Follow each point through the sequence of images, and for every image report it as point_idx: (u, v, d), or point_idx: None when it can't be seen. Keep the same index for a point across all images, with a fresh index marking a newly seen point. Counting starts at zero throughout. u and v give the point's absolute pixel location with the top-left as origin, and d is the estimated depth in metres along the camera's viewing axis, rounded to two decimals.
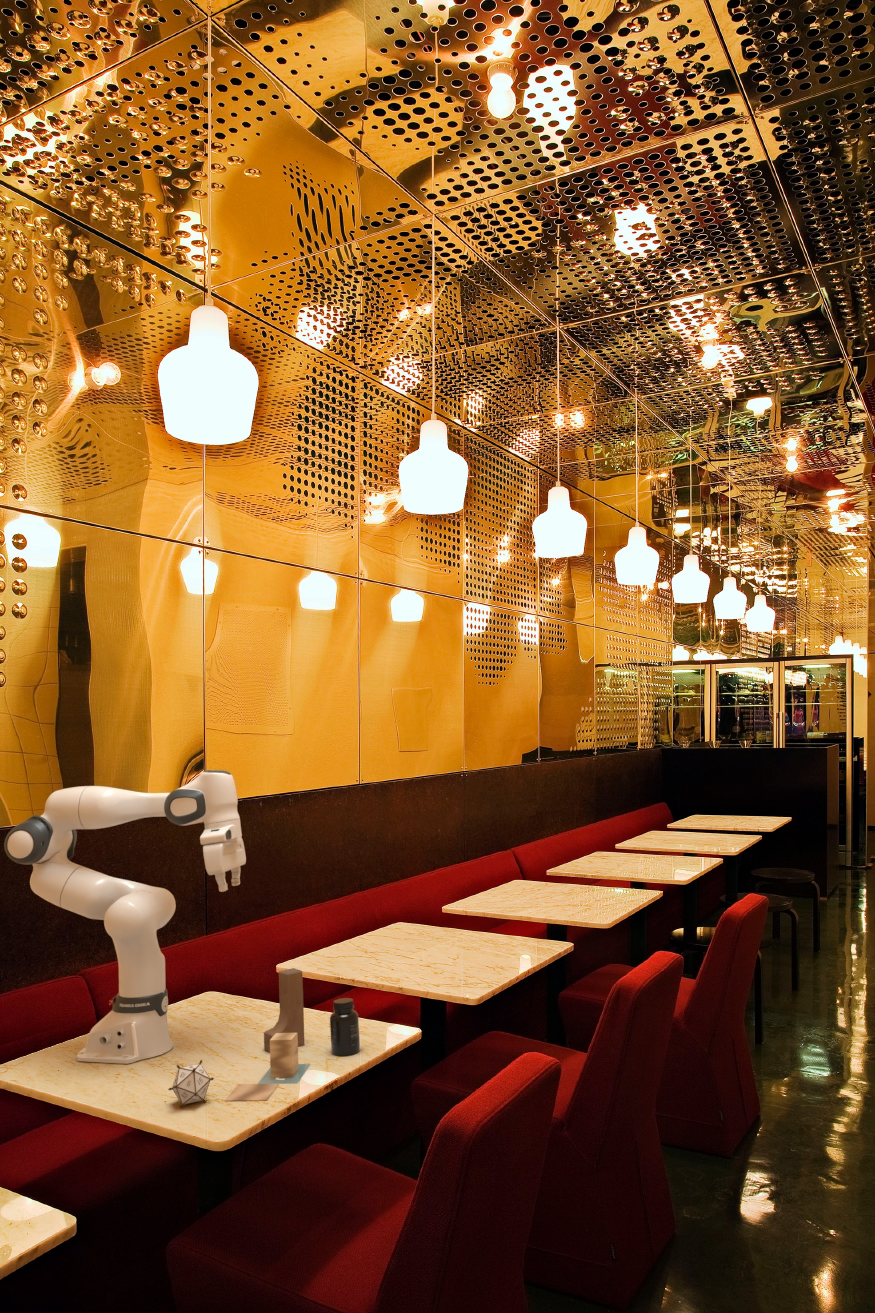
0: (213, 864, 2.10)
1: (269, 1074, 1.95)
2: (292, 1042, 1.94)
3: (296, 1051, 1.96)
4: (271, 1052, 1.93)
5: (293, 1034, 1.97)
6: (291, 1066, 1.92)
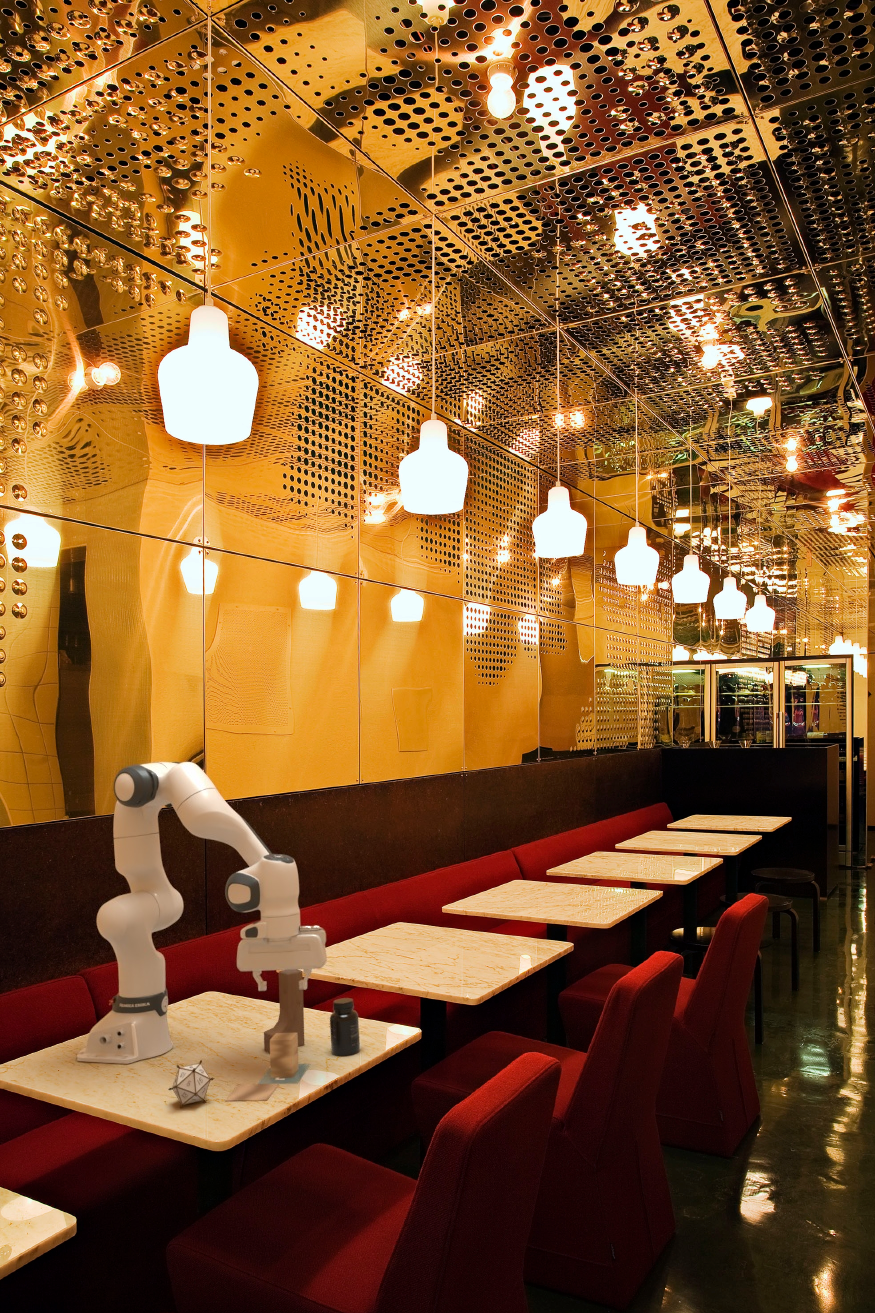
0: None
1: (269, 1074, 1.95)
2: (292, 1042, 1.94)
3: (296, 1051, 1.96)
4: (271, 1052, 1.93)
5: (293, 1034, 1.97)
6: (291, 1066, 1.92)
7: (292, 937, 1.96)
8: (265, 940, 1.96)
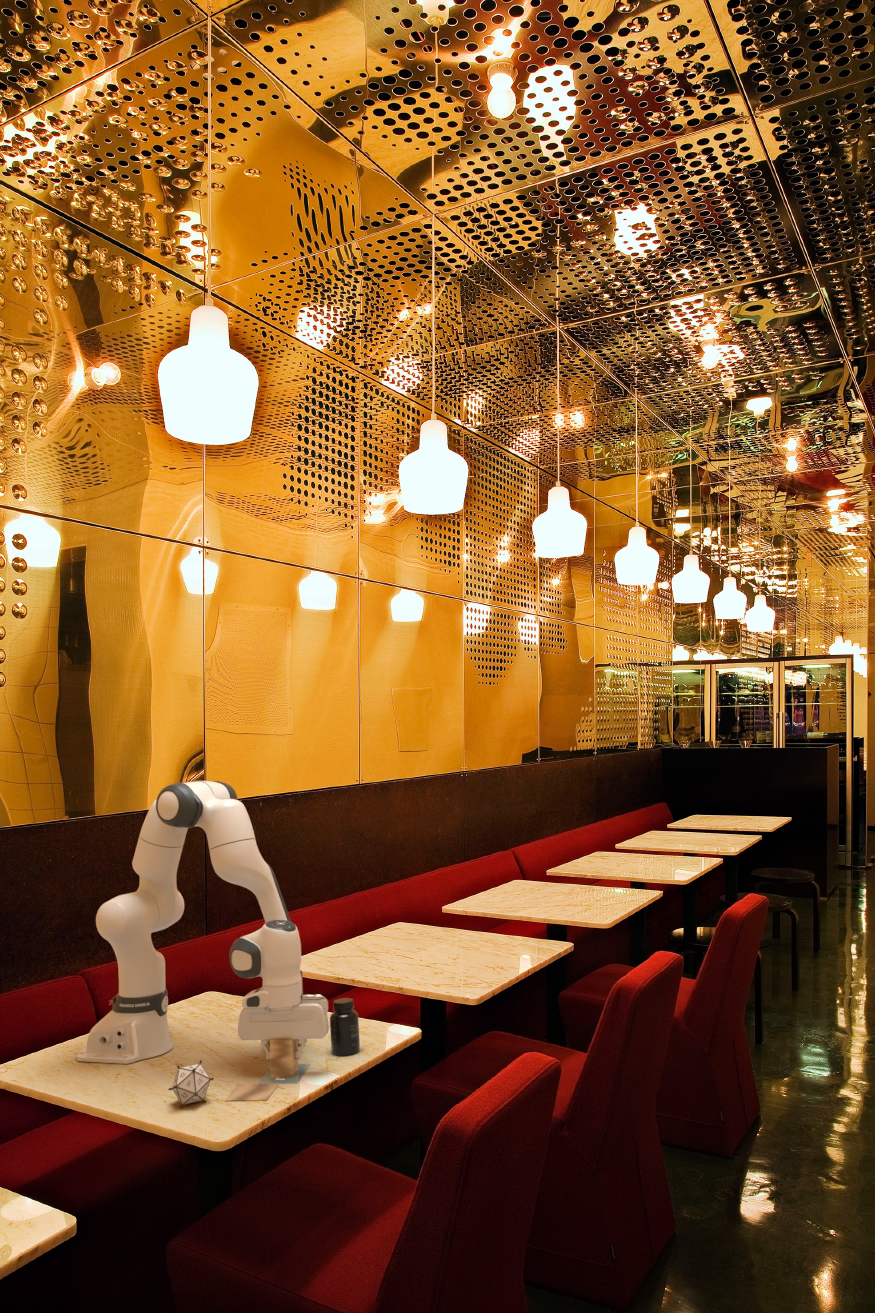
0: None
1: (269, 1074, 1.95)
2: (292, 1042, 1.94)
3: None
4: (271, 1052, 1.93)
5: None
6: (291, 1066, 1.92)
7: (294, 1006, 1.95)
8: (267, 1009, 1.95)
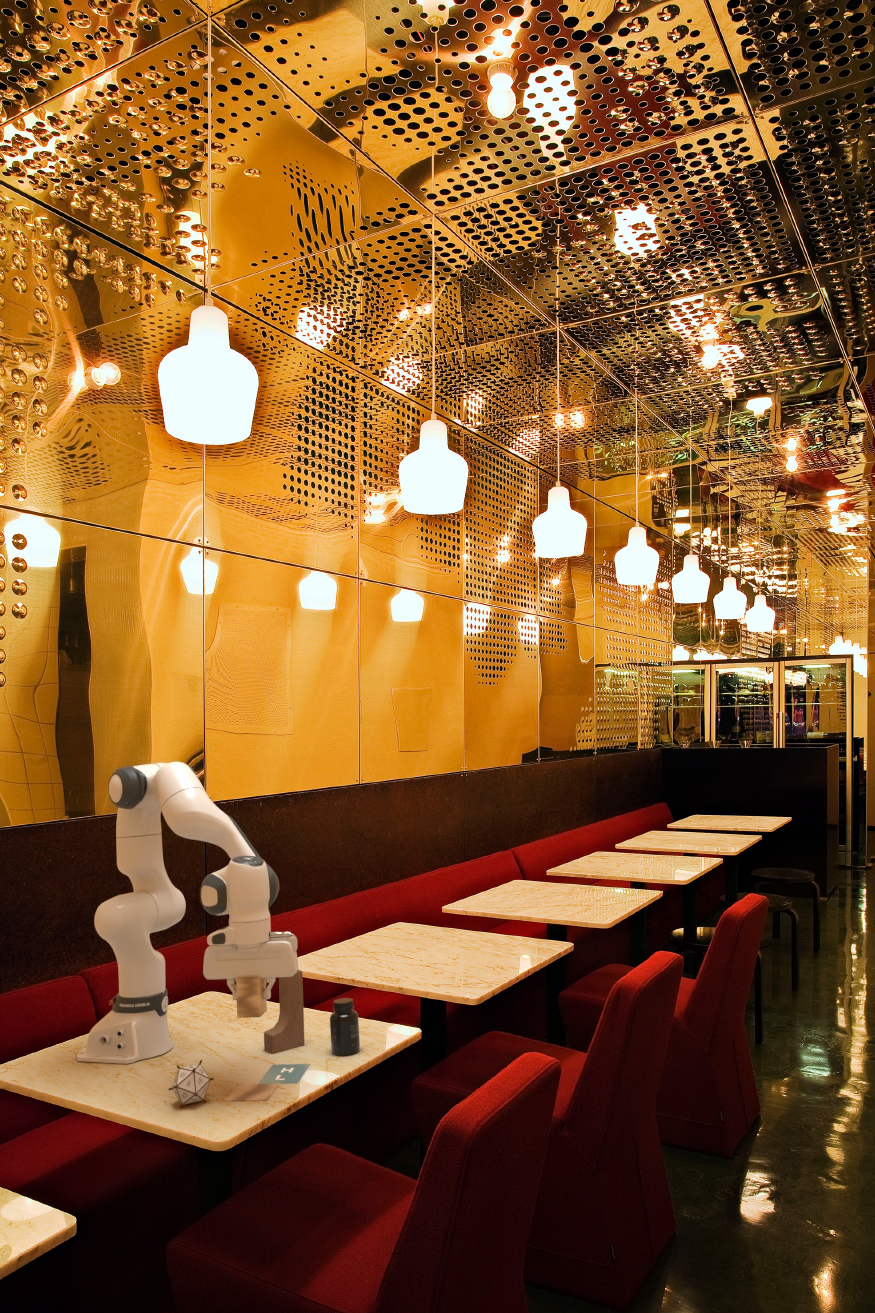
0: None
1: (269, 1074, 1.95)
2: (260, 981, 1.85)
3: None
4: (238, 991, 1.85)
5: None
6: (258, 1005, 1.84)
7: (262, 944, 1.86)
8: (233, 947, 1.86)
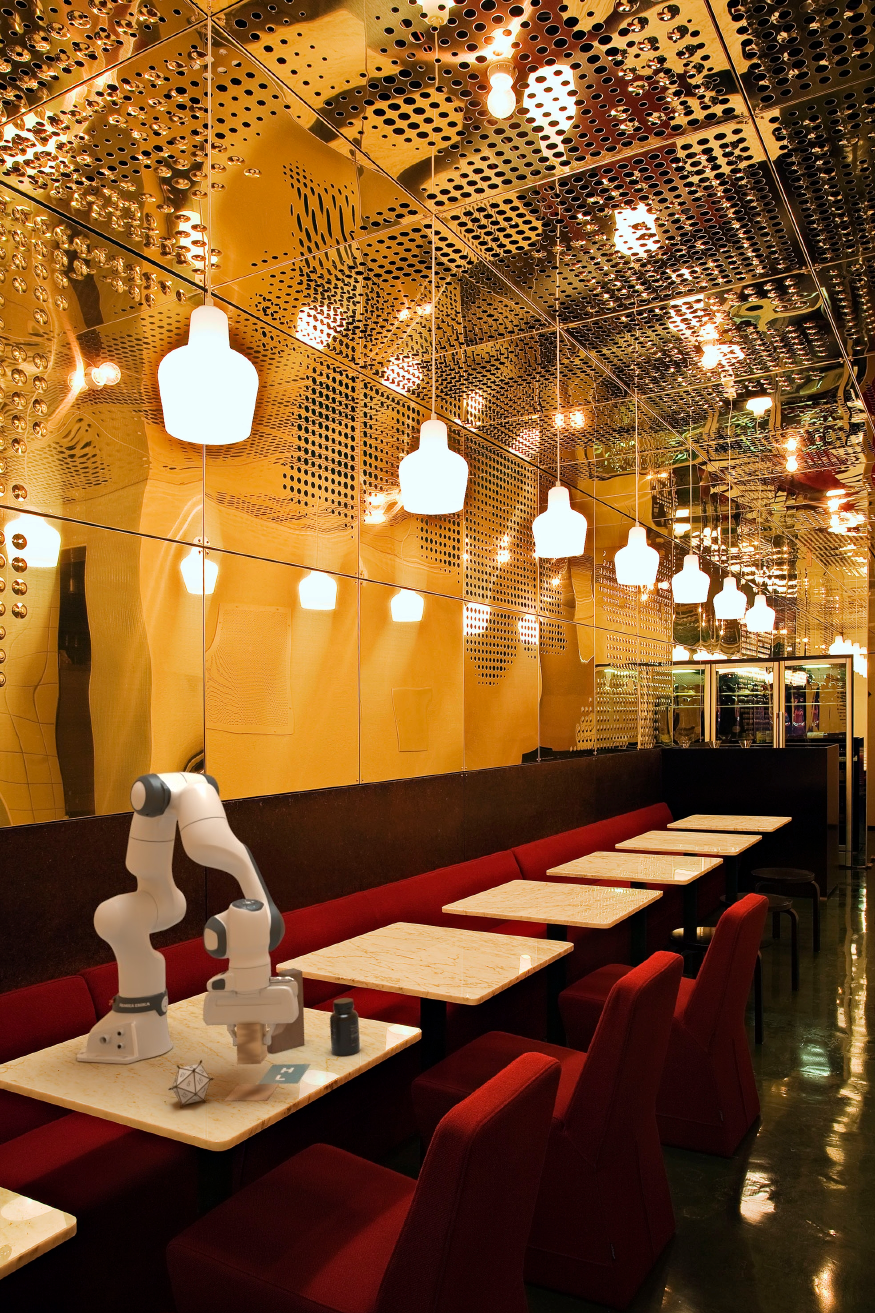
0: None
1: (269, 1074, 1.95)
2: (260, 1027, 1.84)
3: None
4: (238, 1037, 1.83)
5: None
6: (259, 1052, 1.83)
7: (262, 989, 1.85)
8: (233, 992, 1.85)
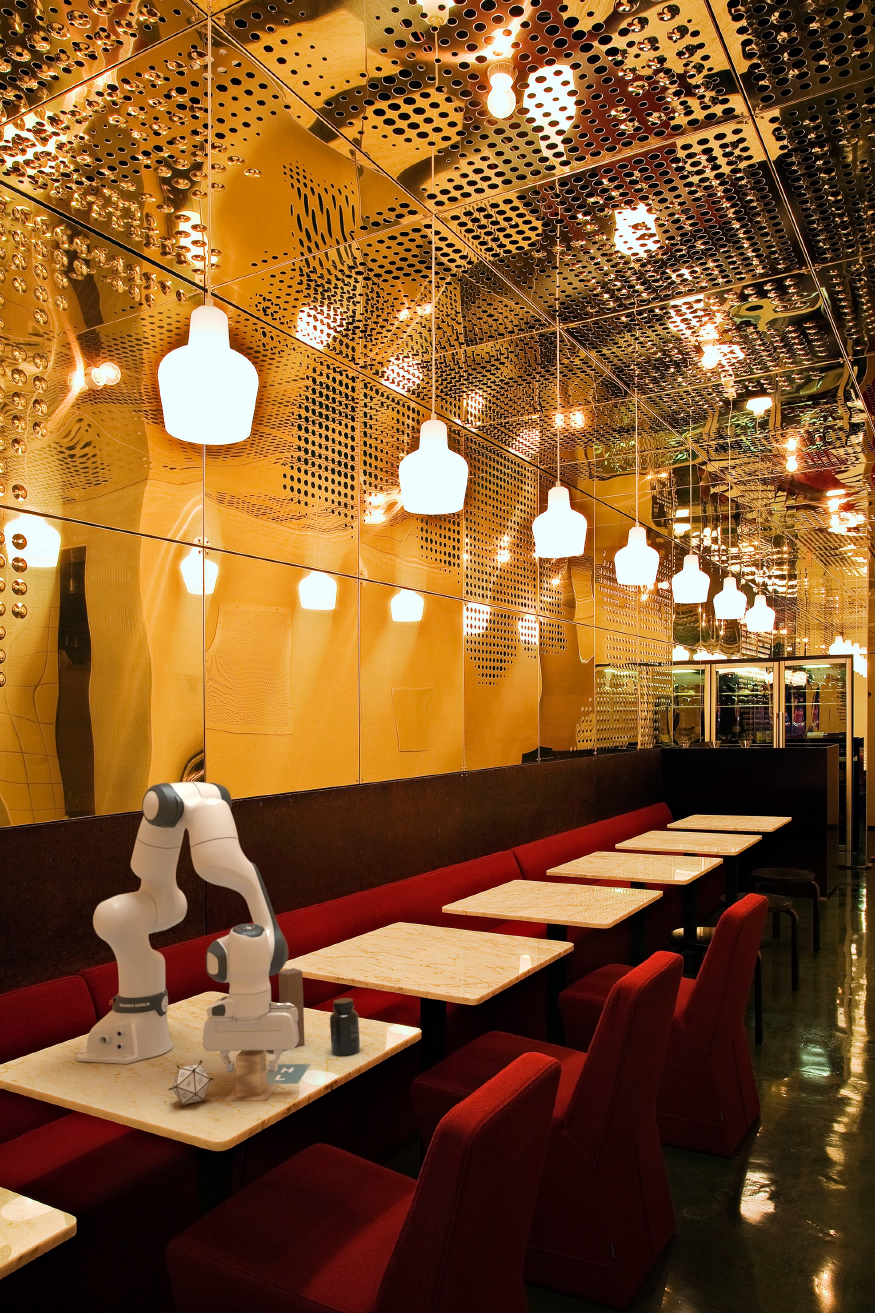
0: None
1: (269, 1074, 1.95)
2: (260, 1058, 1.83)
3: (264, 1068, 1.86)
4: (237, 1069, 1.83)
5: (261, 1050, 1.86)
6: (258, 1084, 1.82)
7: (262, 1015, 1.84)
8: (233, 1018, 1.84)
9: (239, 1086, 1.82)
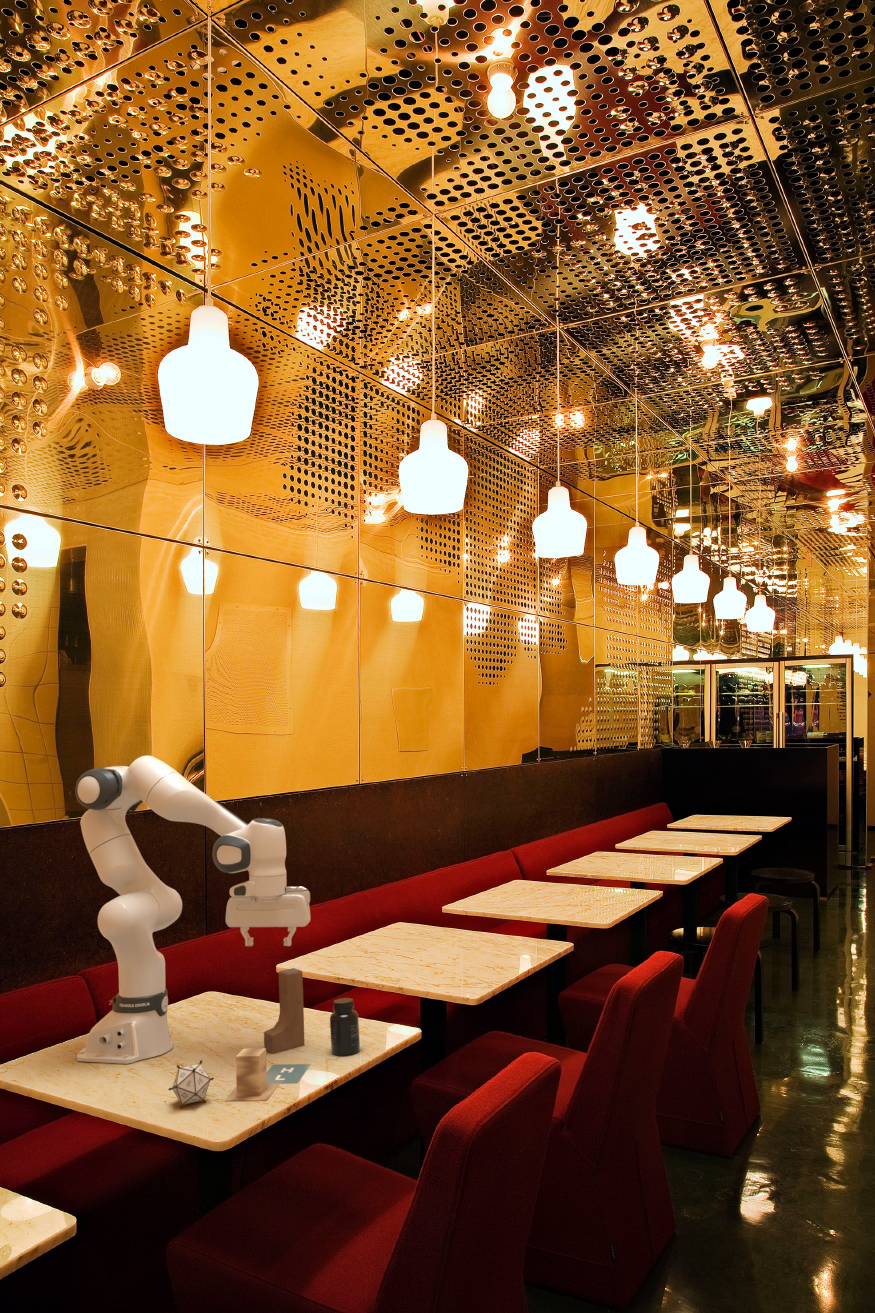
0: None
1: (269, 1074, 1.95)
2: (260, 1058, 1.83)
3: (264, 1068, 1.86)
4: (237, 1069, 1.83)
5: (261, 1050, 1.86)
6: (258, 1084, 1.82)
7: (278, 896, 2.07)
8: (253, 898, 2.08)
9: (239, 1086, 1.82)
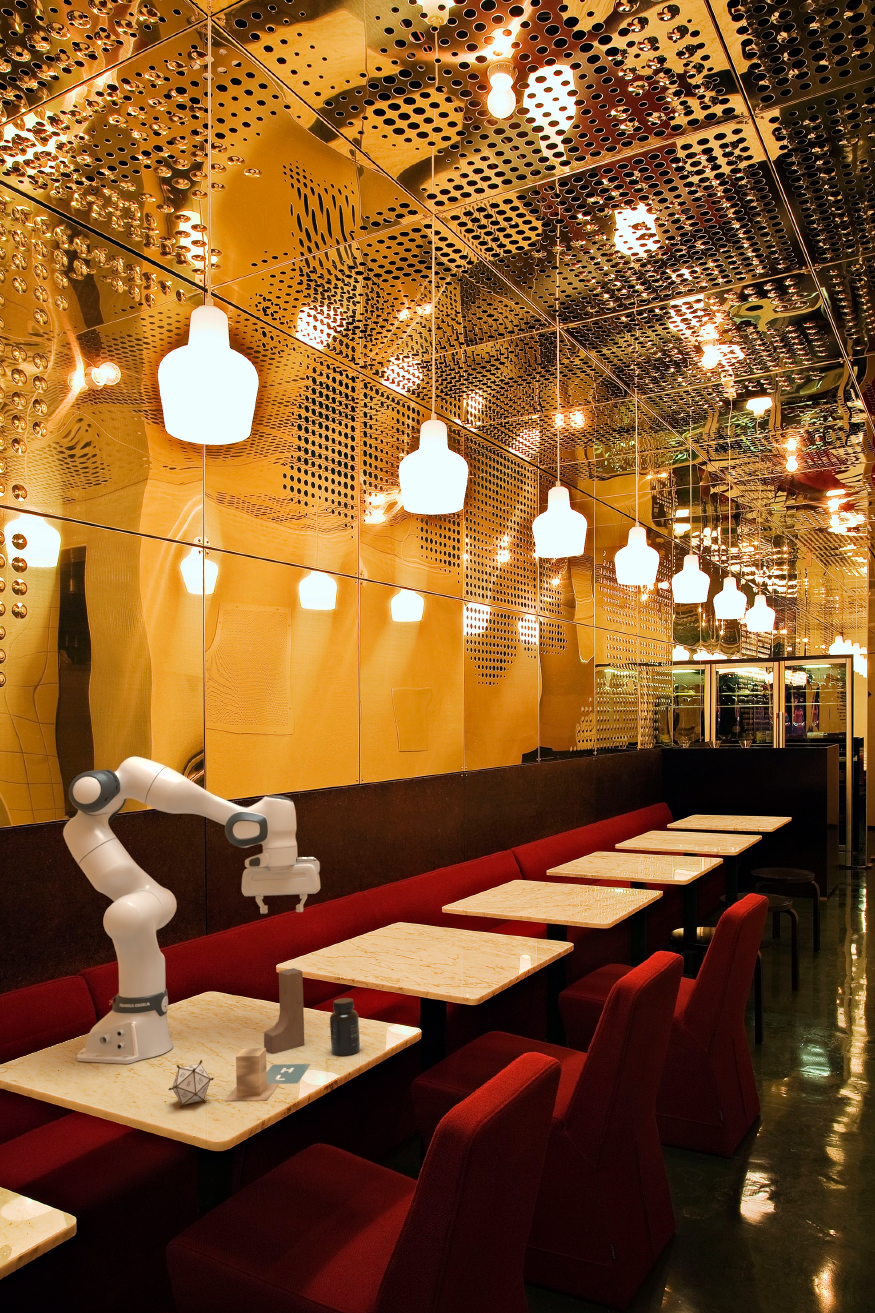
0: None
1: (269, 1074, 1.95)
2: (260, 1058, 1.83)
3: (264, 1068, 1.86)
4: (237, 1069, 1.83)
5: (261, 1050, 1.86)
6: (258, 1084, 1.82)
7: (290, 866, 2.24)
8: (266, 869, 2.24)
9: (239, 1086, 1.82)
